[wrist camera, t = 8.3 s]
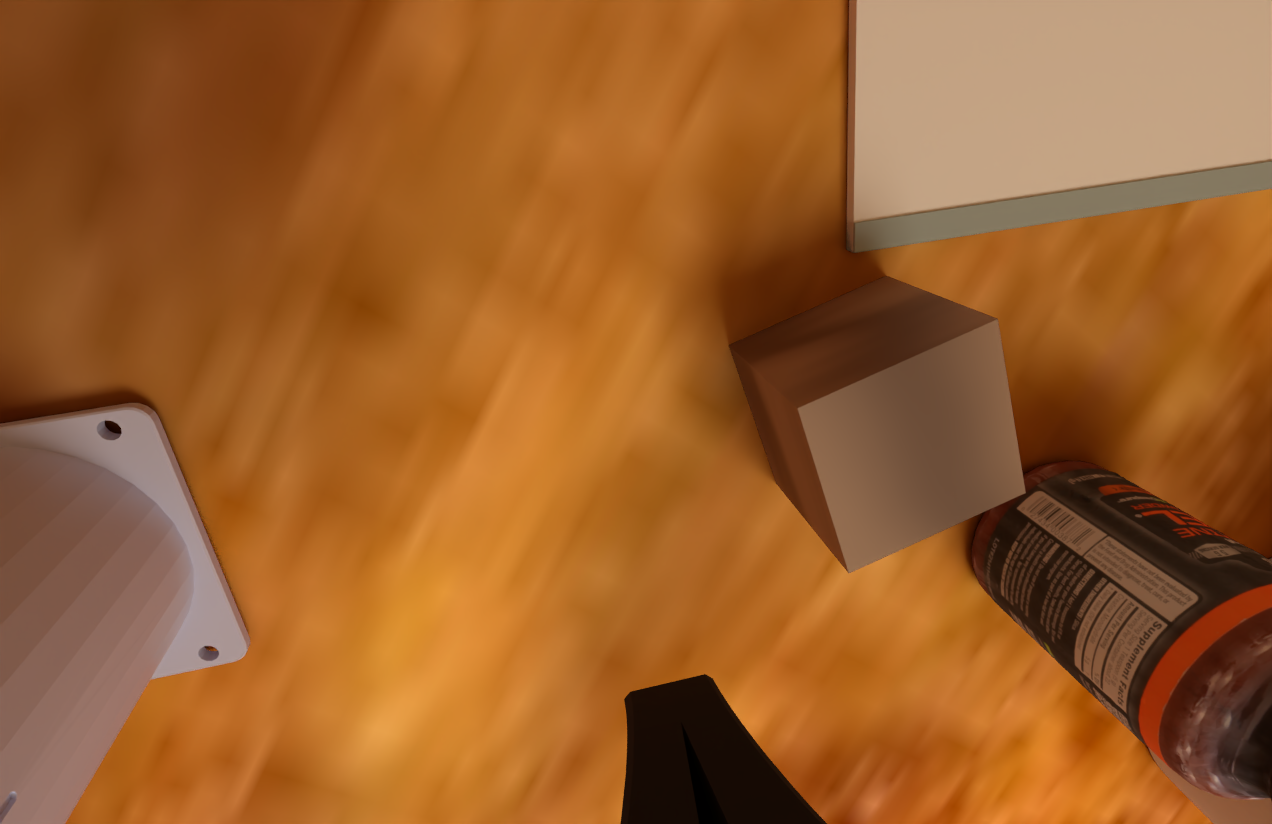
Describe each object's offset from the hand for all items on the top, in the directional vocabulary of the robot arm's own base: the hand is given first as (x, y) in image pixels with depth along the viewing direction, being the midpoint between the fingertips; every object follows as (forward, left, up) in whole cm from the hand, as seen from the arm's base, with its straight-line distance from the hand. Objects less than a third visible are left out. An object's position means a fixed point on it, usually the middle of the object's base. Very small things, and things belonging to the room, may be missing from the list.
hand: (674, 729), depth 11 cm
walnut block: (+8, +1, -11) cm, 13 cm away
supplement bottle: (+16, -6, -11) cm, 20 cm away
